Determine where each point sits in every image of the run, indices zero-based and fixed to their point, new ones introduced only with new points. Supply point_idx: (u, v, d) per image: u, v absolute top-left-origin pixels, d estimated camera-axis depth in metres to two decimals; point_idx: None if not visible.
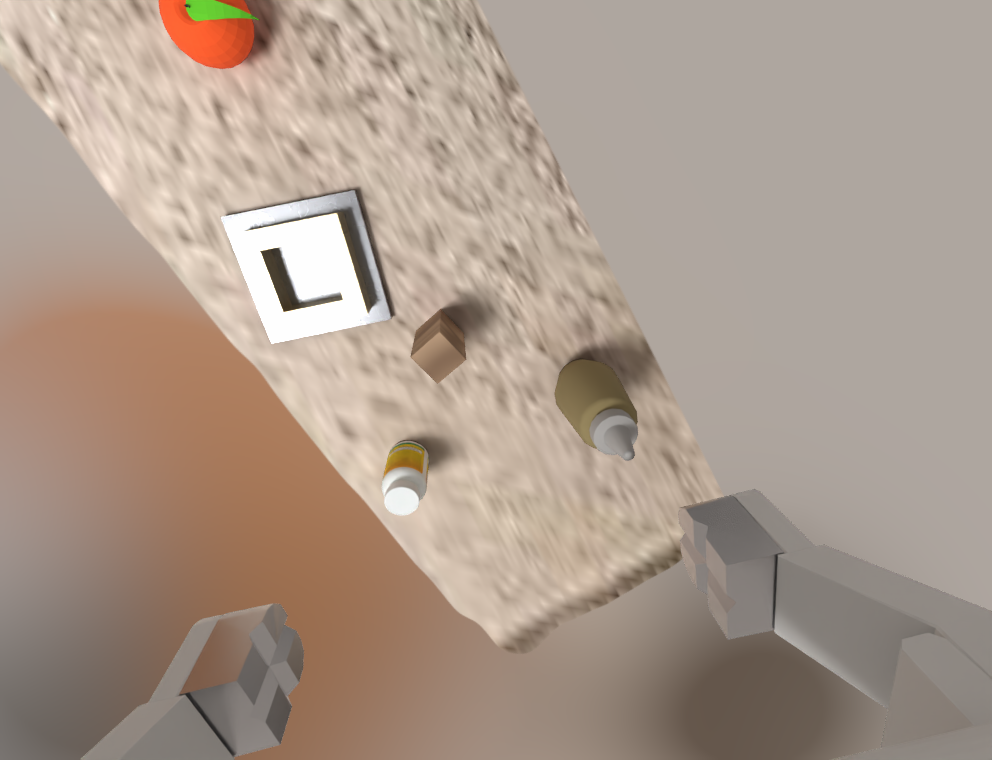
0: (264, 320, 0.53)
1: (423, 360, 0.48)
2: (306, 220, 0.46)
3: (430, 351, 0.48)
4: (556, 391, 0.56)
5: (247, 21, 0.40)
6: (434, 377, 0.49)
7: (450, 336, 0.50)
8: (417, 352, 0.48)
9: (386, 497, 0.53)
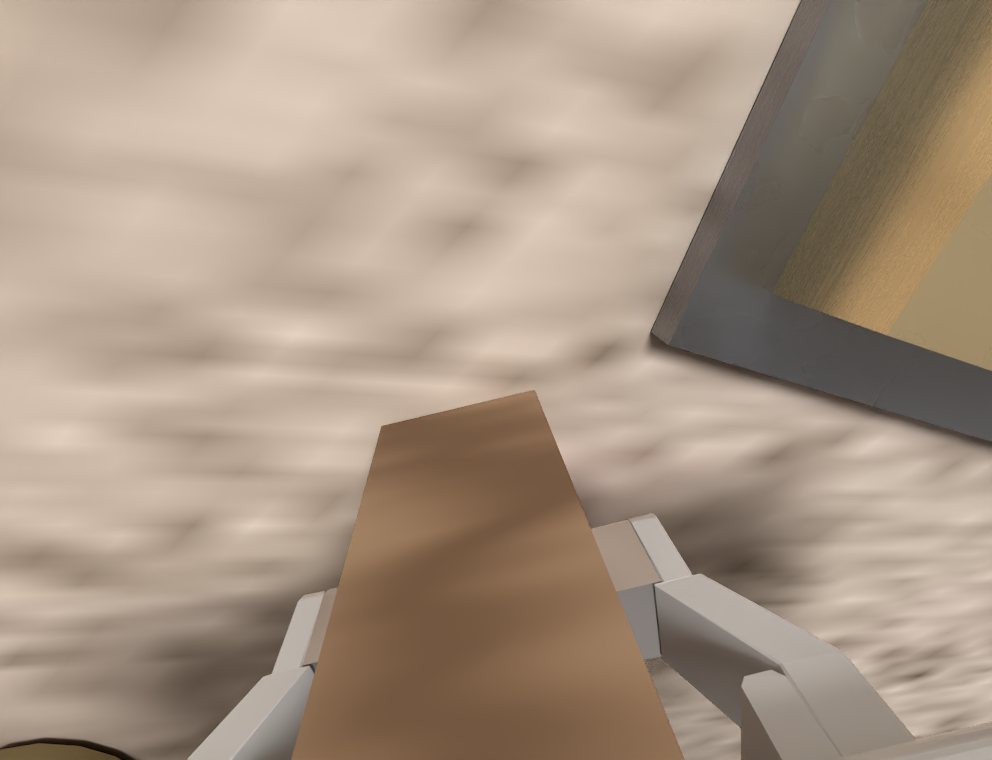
0: None
1: None
2: None
3: None
4: None
5: None
6: None
7: None
8: None
9: None
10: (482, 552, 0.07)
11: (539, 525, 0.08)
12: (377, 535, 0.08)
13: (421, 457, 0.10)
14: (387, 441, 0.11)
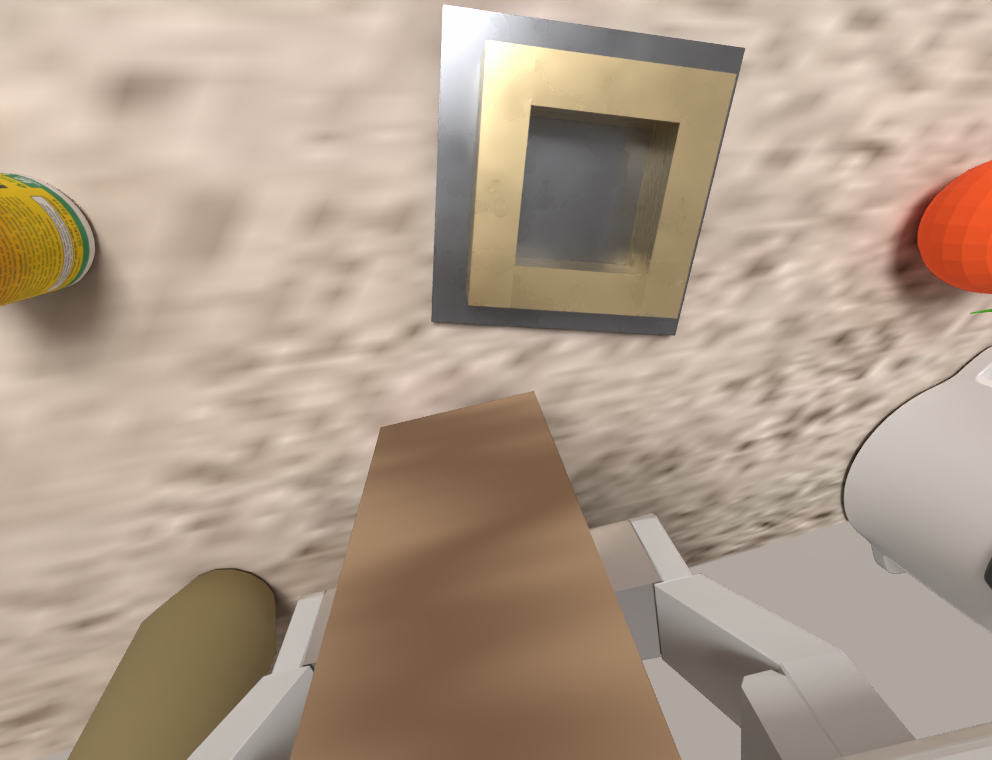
0: (506, 20, 0.21)
1: None
2: (690, 255, 0.22)
3: None
4: (215, 607, 0.28)
5: (976, 291, 0.25)
6: None
7: None
8: None
9: None
10: (481, 553, 0.07)
11: (537, 527, 0.08)
12: (376, 536, 0.08)
13: (420, 458, 0.10)
14: (386, 442, 0.11)
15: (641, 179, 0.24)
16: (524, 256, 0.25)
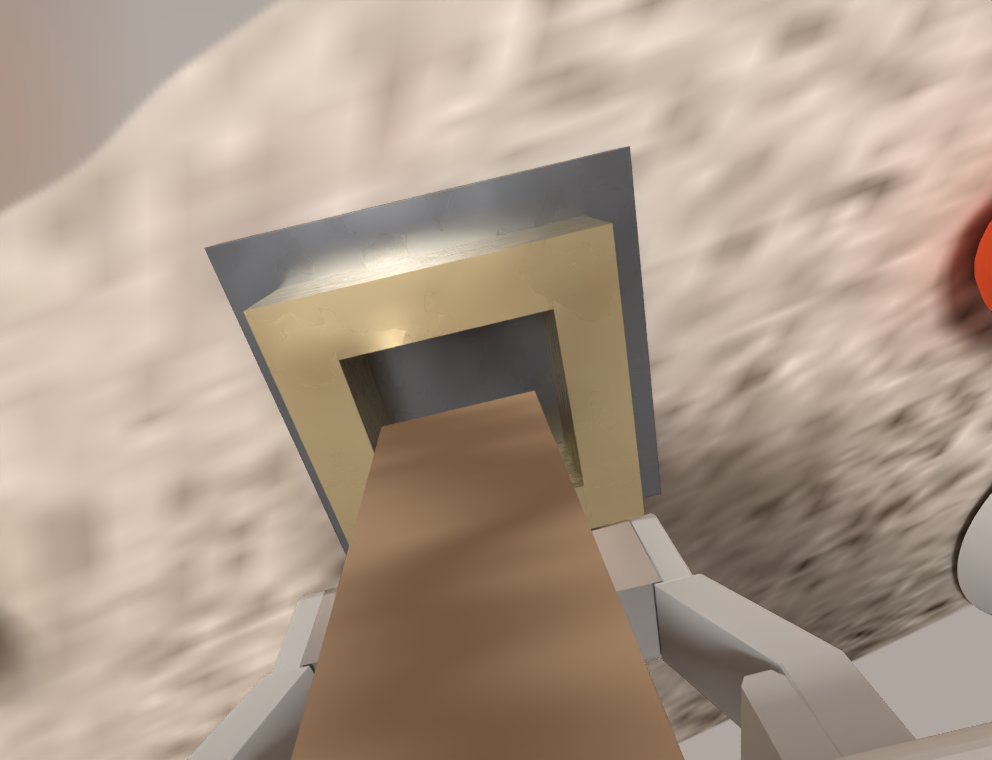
0: (290, 236, 0.15)
1: None
2: (633, 447, 0.16)
3: None
4: None
5: None
6: None
7: None
8: None
9: None
10: (482, 552, 0.07)
11: (538, 526, 0.08)
12: (377, 535, 0.08)
13: (421, 458, 0.10)
14: (387, 441, 0.11)
15: (546, 346, 0.17)
16: None
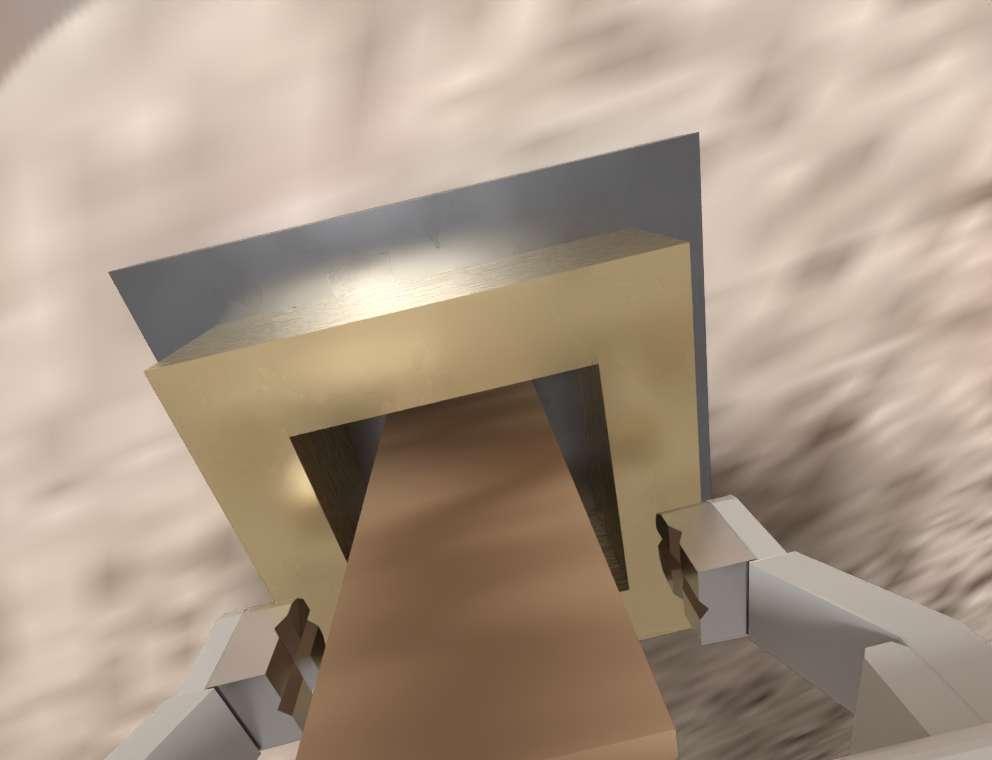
0: (228, 255, 0.11)
1: None
2: None
3: None
4: None
5: None
6: None
7: None
8: None
9: None
10: (481, 512, 0.08)
11: (531, 490, 0.08)
12: (386, 501, 0.09)
13: (425, 435, 0.11)
14: (393, 423, 0.12)
15: (576, 397, 0.13)
16: None
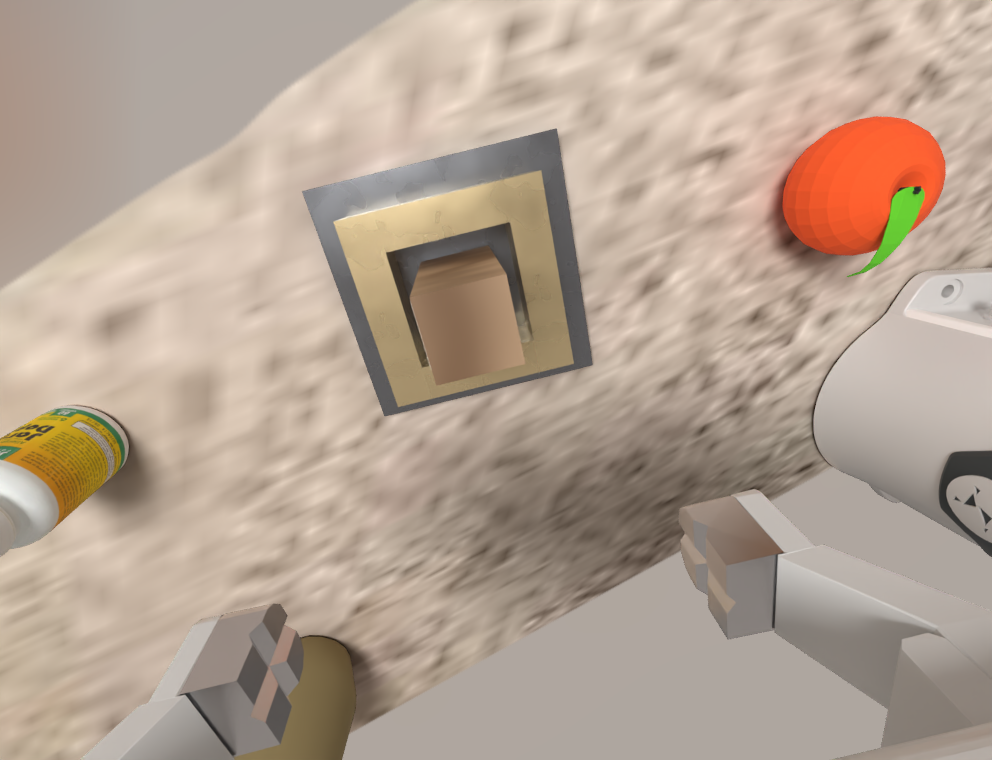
0: (353, 184, 0.25)
1: (482, 298, 0.19)
2: (563, 314, 0.26)
3: (494, 324, 0.20)
4: None
5: (846, 254, 0.26)
6: (428, 299, 0.19)
7: None
8: (508, 295, 0.19)
9: None
10: (462, 267, 0.22)
11: (481, 262, 0.23)
12: (426, 272, 0.23)
13: (439, 262, 0.25)
14: (424, 263, 0.26)
15: (511, 257, 0.27)
16: None
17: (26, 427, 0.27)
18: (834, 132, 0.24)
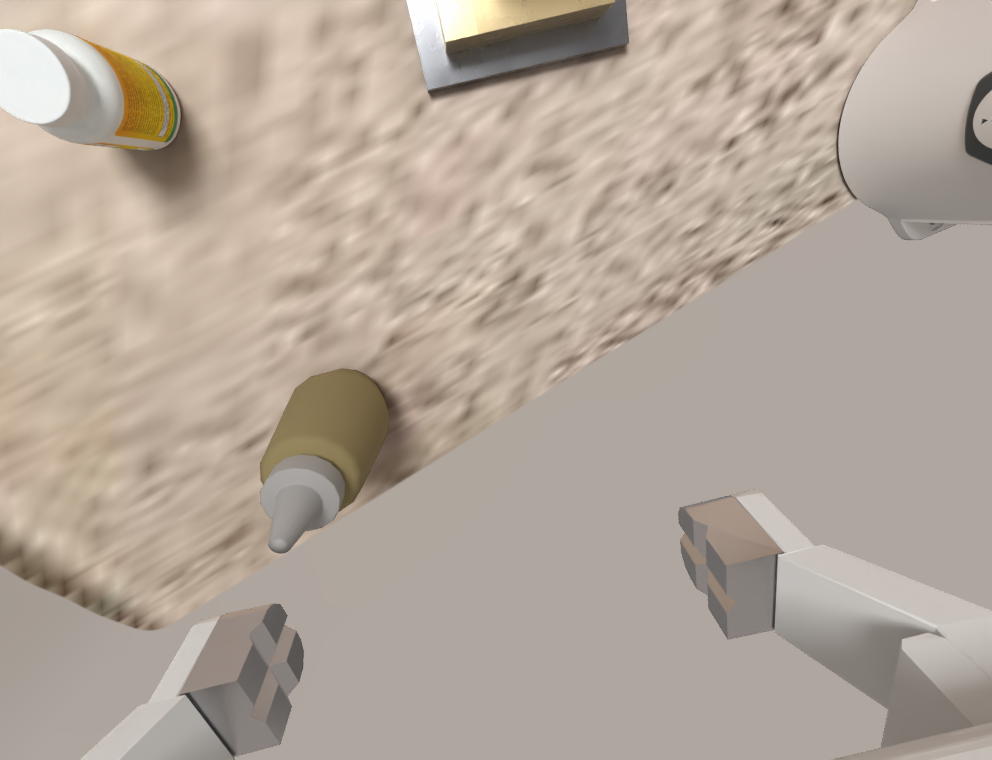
0: None
1: None
2: None
3: None
4: (334, 375, 0.36)
5: None
6: None
7: None
8: None
9: (24, 36, 0.22)
10: None
11: None
12: None
13: None
14: None
15: None
16: None
17: None
18: None
